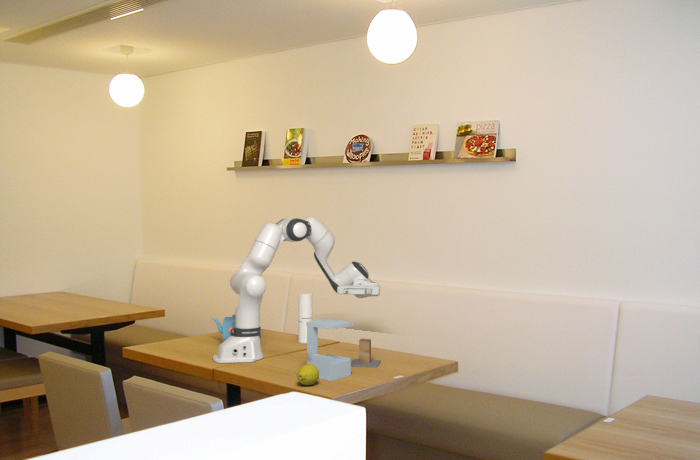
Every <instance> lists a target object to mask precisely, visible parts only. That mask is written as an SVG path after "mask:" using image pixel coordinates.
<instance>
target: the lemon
mask: <svg viewBox="0 0 700 460" xmlns="http://www.w3.org/2000/svg"><path fill="white" fill-rule="evenodd" d="M296 378H297V381H298V382H299V383H300V384H302V385H303V386H311V385H314V384H316V382H317V381H318V380H319V379H320V378H319V370H318V368H317V367H316V366H315V365H313V364H307V363H306V364H303V365H301V366H300V367H299V368H298V369H297V373H296Z"/></svg>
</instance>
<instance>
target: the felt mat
mask: <svg viewBox="0 0 700 460" xmlns="http://www.w3.org/2000/svg"><path fill="white" fill-rule="evenodd" d="M381 361H382V359H371V362H370V364H363V363H359V358H354V359H353V360H351V367H354V368H355V367H356V368H358V367H359V368H360V367H361V368H378V367H379V365H380V363H381Z"/></svg>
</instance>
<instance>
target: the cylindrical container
mask: <svg viewBox="0 0 700 460" xmlns="http://www.w3.org/2000/svg"><path fill="white" fill-rule="evenodd" d="M310 321H313V292H299V293H298V325H297V326H298V334H297V335H298V336H297V337H298V340H297V341H298V343H299V342H300V344H307V326H306V322H310Z"/></svg>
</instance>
